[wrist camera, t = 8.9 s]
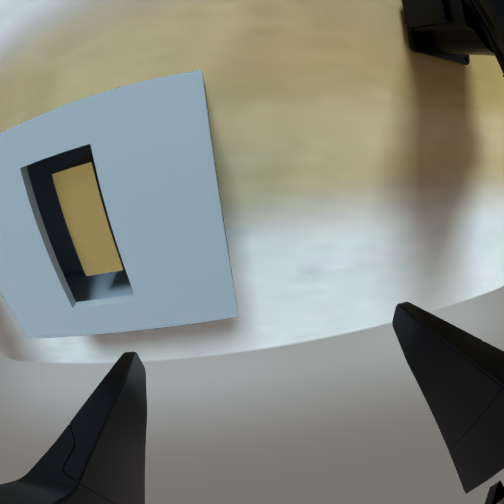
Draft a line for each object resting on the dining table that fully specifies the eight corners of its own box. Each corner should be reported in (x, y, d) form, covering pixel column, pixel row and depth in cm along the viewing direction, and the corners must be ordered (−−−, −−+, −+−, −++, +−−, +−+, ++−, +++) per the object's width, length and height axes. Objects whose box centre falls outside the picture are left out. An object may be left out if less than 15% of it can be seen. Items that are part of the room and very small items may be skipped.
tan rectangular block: (119, 145, 17) (91, 162, 12) (139, 231, 20) (123, 270, 15) (86, 154, 16) (51, 174, 12) (108, 237, 19) (86, 276, 15)
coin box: (204, 81, 16) (201, 70, 10) (228, 253, 22) (238, 316, 16) (15, 136, 15) (-47, 161, 9) (61, 279, 21) (27, 338, 15)
